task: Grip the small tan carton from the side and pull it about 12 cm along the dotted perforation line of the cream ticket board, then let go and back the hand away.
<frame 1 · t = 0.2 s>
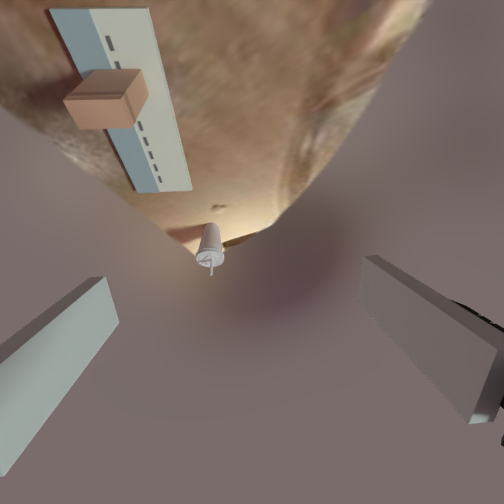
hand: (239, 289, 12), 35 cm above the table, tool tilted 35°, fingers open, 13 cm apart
smoothie: (211, 227, 59), on the table
ticket board: (142, 122, 38), on the table
small tan carton: (112, 97, 29), point 7 cm above the table, slide at 0.0 cm
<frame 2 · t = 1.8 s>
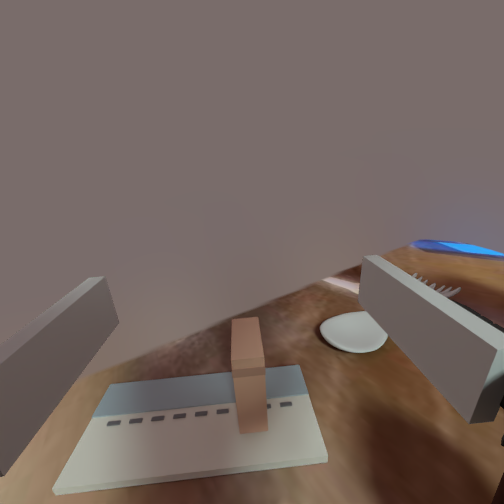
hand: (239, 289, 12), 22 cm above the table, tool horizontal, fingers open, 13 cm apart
spoon: (389, 318, 44), on the table
ticket board: (202, 420, 28), on the table
small tan carton: (249, 372, 26), point 7 cm above the table, slide at 0.0 cm
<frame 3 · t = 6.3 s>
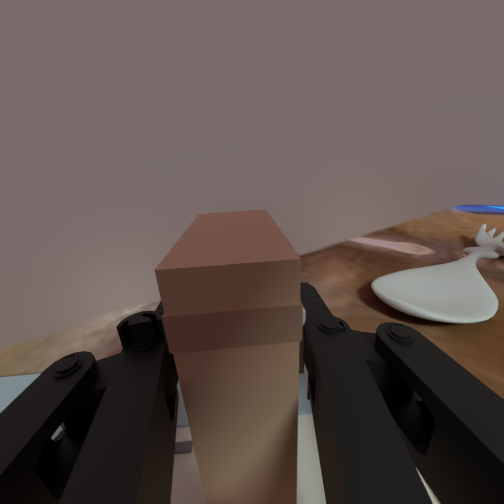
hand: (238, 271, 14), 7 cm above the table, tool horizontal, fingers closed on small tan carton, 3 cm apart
spoon: (471, 278, 28), on the table
ticket board: (128, 468, 11), on the table
small tan carton: (242, 349, 9), point 7 cm above the table, slide at 0.0 cm, touching gripper
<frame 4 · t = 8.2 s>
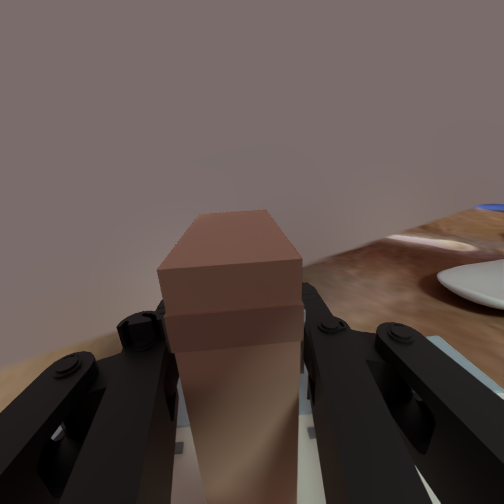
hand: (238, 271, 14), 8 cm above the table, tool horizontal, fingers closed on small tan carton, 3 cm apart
ticket board: (272, 451, 12), on the table
small tan carton: (242, 349, 9), point 7 cm above the table, slide at 7.1 cm, touching gripper
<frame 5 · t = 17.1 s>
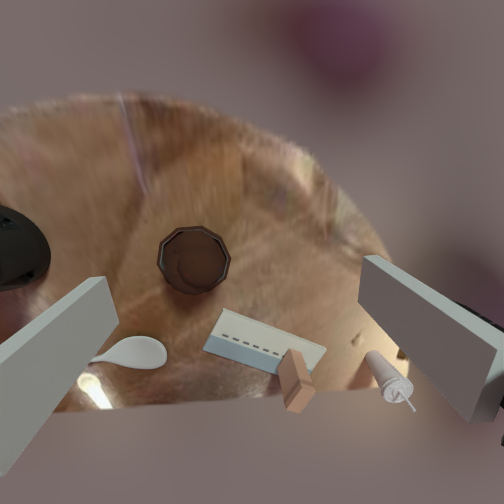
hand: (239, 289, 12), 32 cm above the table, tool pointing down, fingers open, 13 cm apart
ice cream bowl: (202, 242, 44), on the table
smoothie: (372, 355, 57), on the table
spoon: (95, 348, 51), on the table
ticket board: (265, 346, 53), on the table
small tan carton: (294, 378, 48), point 7 cm above the table, slide at 11.9 cm
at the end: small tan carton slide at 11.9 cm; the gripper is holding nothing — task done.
